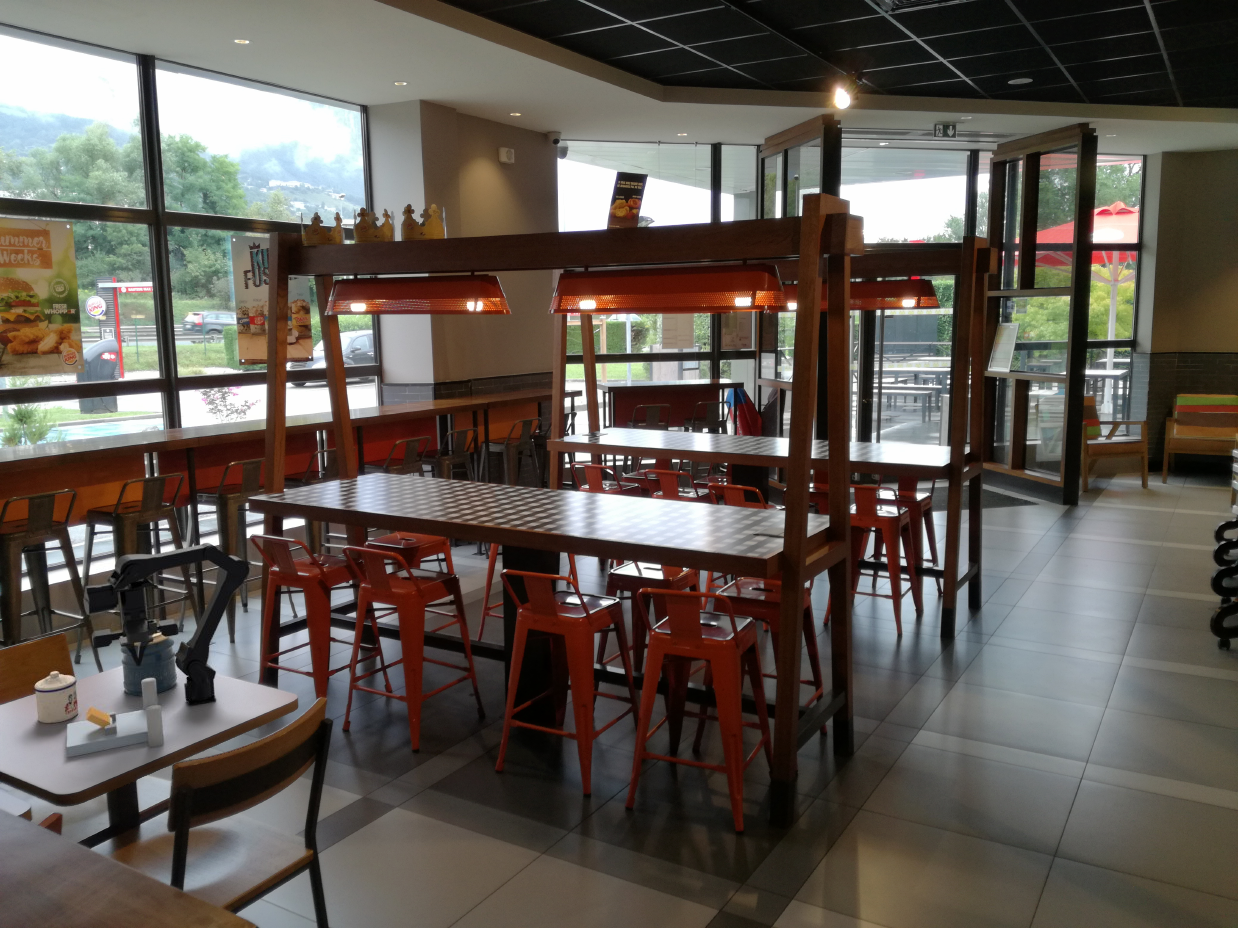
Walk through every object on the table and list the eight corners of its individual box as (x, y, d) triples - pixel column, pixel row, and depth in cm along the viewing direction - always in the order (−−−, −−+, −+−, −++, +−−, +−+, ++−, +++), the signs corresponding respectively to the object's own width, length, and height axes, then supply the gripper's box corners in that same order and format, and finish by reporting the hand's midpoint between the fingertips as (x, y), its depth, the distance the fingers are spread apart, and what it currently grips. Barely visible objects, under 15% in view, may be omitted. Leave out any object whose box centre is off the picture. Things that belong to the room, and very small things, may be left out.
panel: (151, 717, 229) (150, 701, 228) (155, 739, 217) (154, 722, 216) (68, 733, 220) (66, 716, 219) (67, 757, 208) (65, 739, 207)
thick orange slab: (109, 715, 219) (90, 706, 217) (110, 722, 215) (91, 713, 213) (105, 720, 219) (86, 712, 217) (105, 728, 215) (86, 719, 213)
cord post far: (157, 710, 233) (155, 676, 231) (158, 714, 230) (156, 681, 229) (143, 712, 231) (141, 679, 230) (144, 717, 229) (141, 683, 227)
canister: (188, 681, 252) (183, 620, 249) (148, 699, 240) (143, 635, 237) (153, 674, 256) (148, 614, 253) (112, 692, 244) (107, 629, 241)
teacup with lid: (74, 721, 226) (69, 676, 224) (32, 726, 224) (27, 681, 222) (86, 702, 238) (82, 659, 236) (46, 706, 235) (42, 663, 233)
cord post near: (163, 739, 217) (160, 703, 215) (164, 744, 214) (161, 708, 212) (148, 742, 215) (145, 706, 214) (149, 748, 212) (146, 711, 211)
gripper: (91, 621, 214) (97, 684, 217) (179, 608, 224) (183, 668, 227) (89, 608, 223) (95, 669, 226) (173, 596, 233) (177, 654, 236)
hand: (138, 665), depth 228 cm, fingers closed
